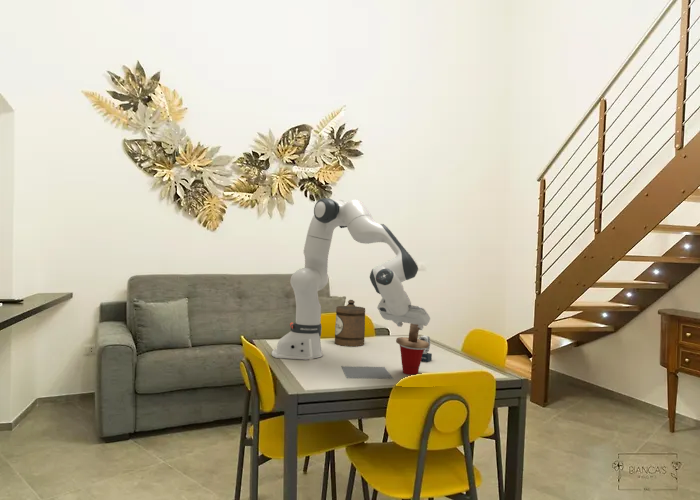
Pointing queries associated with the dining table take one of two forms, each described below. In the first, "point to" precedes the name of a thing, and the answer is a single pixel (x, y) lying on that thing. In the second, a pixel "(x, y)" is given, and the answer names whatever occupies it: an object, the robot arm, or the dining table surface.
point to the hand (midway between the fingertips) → (410, 327)
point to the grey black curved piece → (426, 350)
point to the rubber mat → (366, 372)
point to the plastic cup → (411, 359)
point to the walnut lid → (412, 339)
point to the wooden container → (350, 325)
